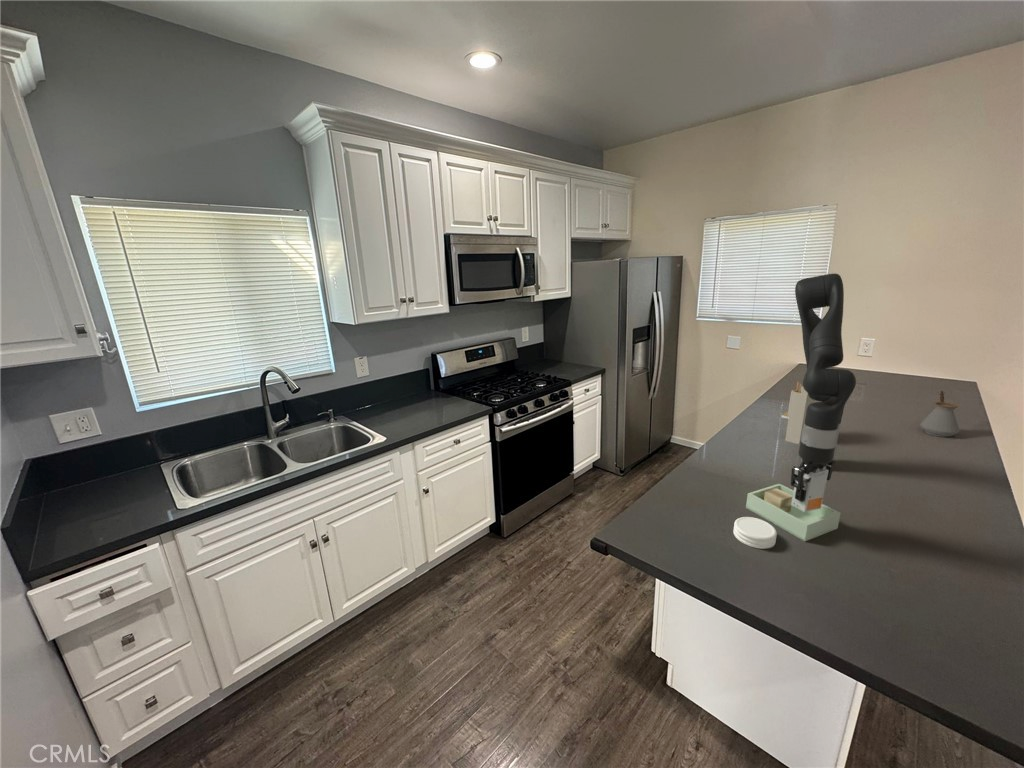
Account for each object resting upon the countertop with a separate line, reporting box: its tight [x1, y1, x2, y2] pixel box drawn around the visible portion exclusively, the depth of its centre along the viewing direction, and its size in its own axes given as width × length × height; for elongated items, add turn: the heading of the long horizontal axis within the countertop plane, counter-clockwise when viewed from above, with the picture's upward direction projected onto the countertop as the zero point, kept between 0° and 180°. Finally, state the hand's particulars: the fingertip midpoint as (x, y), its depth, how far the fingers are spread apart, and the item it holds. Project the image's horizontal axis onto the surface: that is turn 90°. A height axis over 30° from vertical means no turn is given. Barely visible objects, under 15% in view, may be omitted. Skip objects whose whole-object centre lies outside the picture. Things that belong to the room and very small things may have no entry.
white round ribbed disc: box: [732, 516, 778, 550], centre depth 110 cm, size 10×10×4 cm
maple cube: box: [764, 488, 793, 512], centre depth 121 cm, size 5×5×5 cm
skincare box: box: [791, 469, 829, 512], centre depth 111 cm, size 6×4×12 cm
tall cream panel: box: [780, 380, 816, 445], centre depth 168 cm, size 8×12×26 cm
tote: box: [745, 483, 842, 542], centre depth 117 cm, size 14×18×5 cm
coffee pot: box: [919, 390, 961, 438], centre depth 172 cm, size 21×12×15 cm, turn 140°
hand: (807, 497), depth 112 cm, fingers closed on skincare box, 6 cm apart
